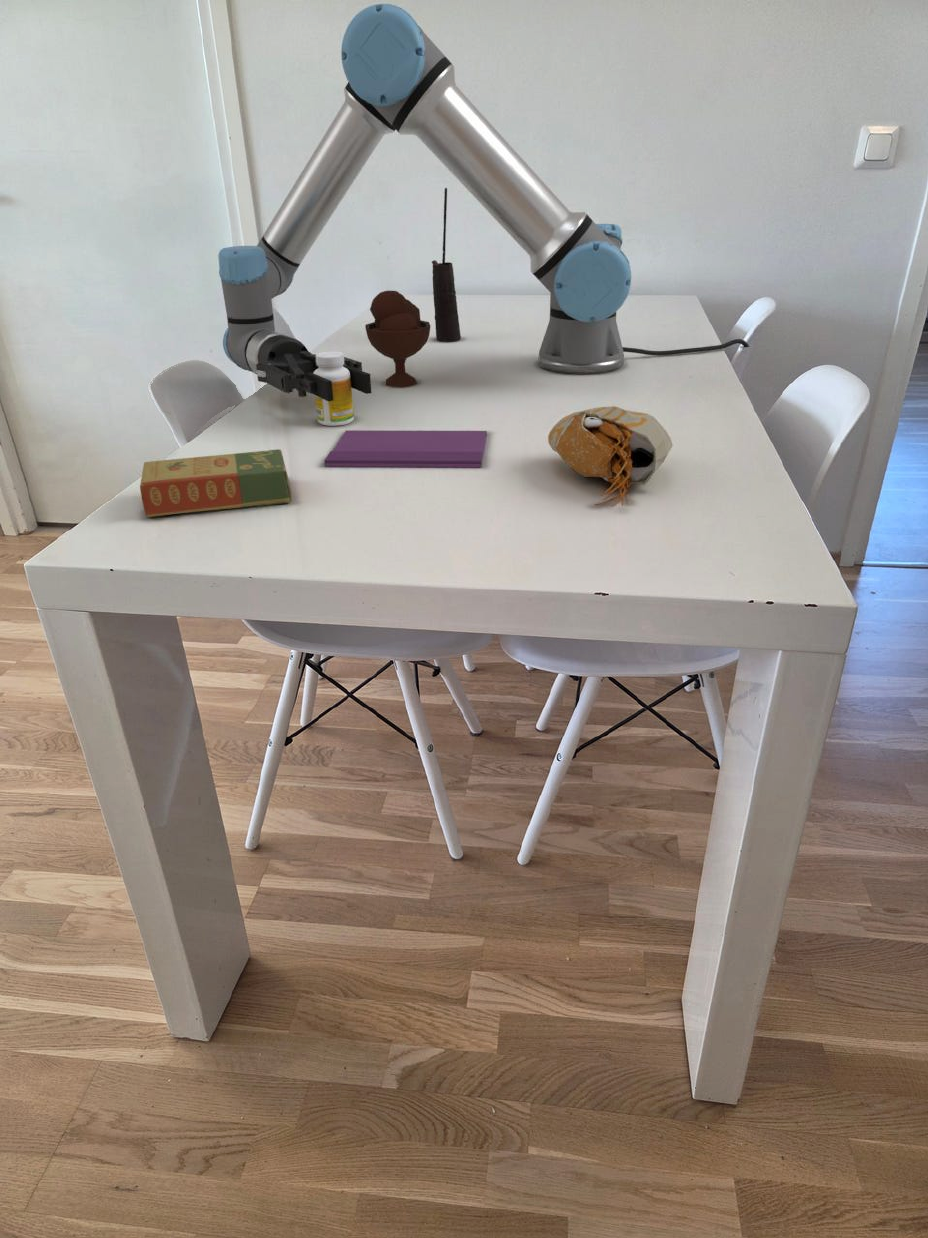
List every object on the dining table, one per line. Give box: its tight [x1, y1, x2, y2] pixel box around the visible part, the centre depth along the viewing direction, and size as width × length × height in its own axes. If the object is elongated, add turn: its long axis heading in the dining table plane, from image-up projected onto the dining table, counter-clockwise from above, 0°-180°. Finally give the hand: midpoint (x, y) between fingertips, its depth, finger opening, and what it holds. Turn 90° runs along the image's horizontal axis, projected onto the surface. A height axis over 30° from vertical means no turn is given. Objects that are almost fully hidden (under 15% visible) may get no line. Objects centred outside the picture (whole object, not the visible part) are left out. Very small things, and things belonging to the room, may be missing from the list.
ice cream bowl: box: [365, 290, 432, 388], centre depth 139 cm, size 11×11×15 cm
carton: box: [139, 448, 293, 518], centre depth 97 cm, size 8×16×4 cm, turn 105°
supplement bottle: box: [313, 350, 355, 427], centre depth 122 cm, size 5×5×10 cm
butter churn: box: [431, 187, 462, 343], centre depth 167 cm, size 9×10×28 cm
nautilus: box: [547, 405, 674, 507], centre depth 98 cm, size 8×22×15 cm
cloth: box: [324, 430, 488, 468], centre depth 112 cm, size 20×14×1 cm
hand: (349, 387), depth 118 cm, fingers closed on supplement bottle, 5 cm apart
